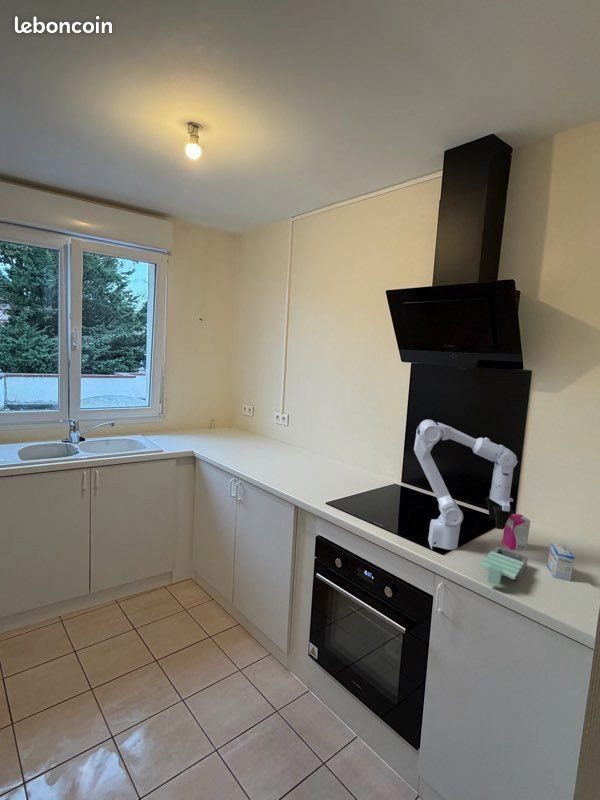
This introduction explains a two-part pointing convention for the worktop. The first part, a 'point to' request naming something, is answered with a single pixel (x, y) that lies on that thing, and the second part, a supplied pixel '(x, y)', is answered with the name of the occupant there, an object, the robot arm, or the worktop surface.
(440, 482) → the robot arm
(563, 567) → the medicine box
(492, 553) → the lid
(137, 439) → the worktop surface
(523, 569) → the tub
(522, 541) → the supplement box
